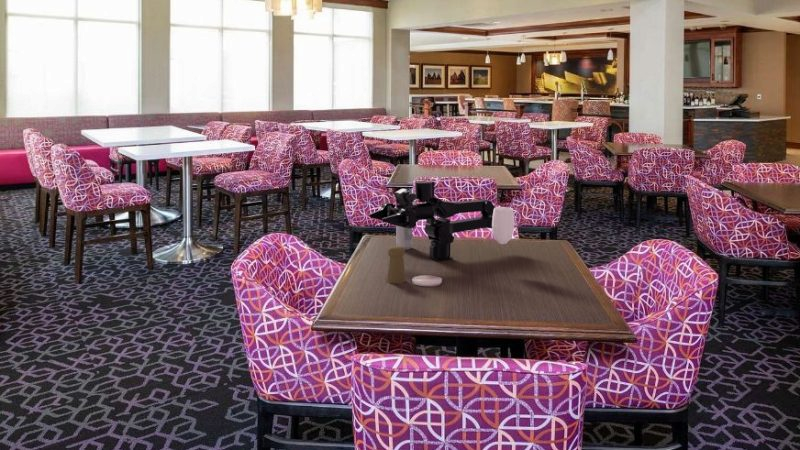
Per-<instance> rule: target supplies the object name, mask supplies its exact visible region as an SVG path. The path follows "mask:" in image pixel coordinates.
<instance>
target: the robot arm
mask: <svg viewBox="0 0 800 450" xmlns="http://www.w3.org/2000/svg"><path fill="white" fill-rule="evenodd" d="M435 186H436V183H435V181H432V180H430V181H429V180H428V181H427V180H426V181H425V180H424V181H422V180H417V181H414V189H415V190H414V191H415V193H413V192H411V191H410V190H408V189H406V188H400V189H399V190H397V191H395V192H394V196H395V198H396V200H397V202H398V203H396V205H394V203H393V202H388V201H385V202H384V201H383V202H382V205H381V208H380V209H378V210H376V211H374V212H372V213H369V218H371V219H374V220H378V221H382V222H383V223H386V224H389V225H393V226H395V227H396V226H400V227H404V228H408V229H411V228H412V229H414V228H415V227H416V226H417V223H419V221H424V220H425V221H426V223H425V226H424V232H425V235H427V237H428V240H429V241H430V245H429V255H428V256H427V257H428V258H429V259H432V260H434V261H437V262H438V261H439V262H440V261H448V260H453V259H454V258H453V257H452V256H451V244H452V243H453V242H454V239H455V236H454V235H453V234H455V233H462V232H468V231H469V232H470V231H475V230H480V229H492V216H493V211H494V208H496V207H497V206H495V205H494V204H493V202H492V201H490V200H489V199H485V198H480V199H473V200H463V201H461V200H460V201H449V200H442V199H440V198H439V197H435ZM415 200H418V202H419V203H414V202H415ZM475 212H480V214H481V216H475V217H469V218H463V219H457V220H451V219H450V218H451V217H455V215H458V214H464V213H466V214H467V213H475Z"/></svg>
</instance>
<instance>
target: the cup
mask: <svg viewBox="0 0 800 450" xmlns="http://www.w3.org/2000/svg"><path fill="white" fill-rule="evenodd" d="M495 207H496V208H494V211H493V216H492V228H491V229H492V236H493V238H494V240H495V241H496V242H497V243H498V244H500V245H505V244H508V242H509V241H511V240H512V237H513V235H514V230H515V213H514V208H513V207H508V206H495Z"/></svg>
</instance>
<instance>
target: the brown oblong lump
mask: <svg viewBox="0 0 800 450" xmlns="http://www.w3.org/2000/svg"><path fill="white" fill-rule="evenodd" d="M387 254H388V256H389V260H388V268H387V276H386V282H387V283H390V284H404V283H406V282H407V277H406V268H405V262H404V261H405V260H404V256H405V254H406V250H405V249H404V247H402V246H396V245H392V246H389V247H388V251H387Z"/></svg>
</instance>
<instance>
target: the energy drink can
mask: <svg viewBox="0 0 800 450" xmlns="http://www.w3.org/2000/svg"><path fill="white" fill-rule="evenodd" d="M395 229H396V230H395V231H396V232H395V233H396V234H395V244H396V245H395V246H402V247H404V249H405V251H406V250H407V251H408V250H411V249H412V247H413V228H411V229H408V228H404V227H400V226H396V225H395Z"/></svg>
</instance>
